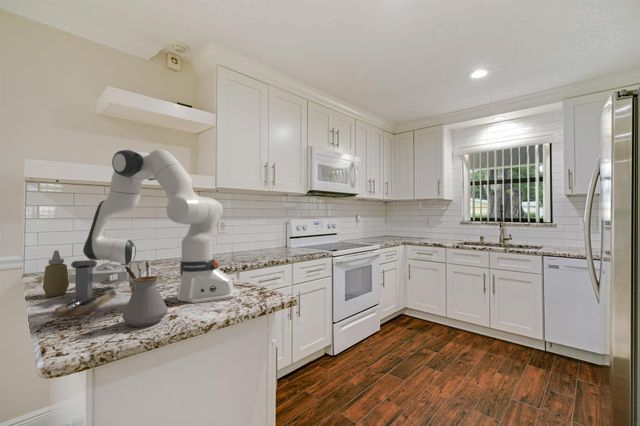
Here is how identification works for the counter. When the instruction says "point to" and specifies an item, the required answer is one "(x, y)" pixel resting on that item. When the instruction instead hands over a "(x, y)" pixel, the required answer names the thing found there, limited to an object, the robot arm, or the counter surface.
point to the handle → (83, 283)
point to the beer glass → (139, 271)
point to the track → (84, 305)
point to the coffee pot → (144, 302)
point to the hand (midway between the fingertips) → (93, 279)
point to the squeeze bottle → (56, 276)
